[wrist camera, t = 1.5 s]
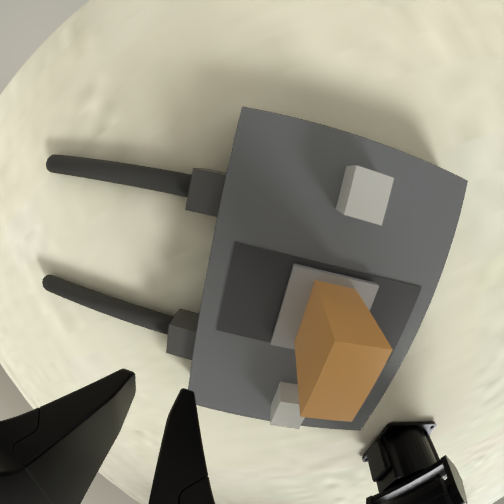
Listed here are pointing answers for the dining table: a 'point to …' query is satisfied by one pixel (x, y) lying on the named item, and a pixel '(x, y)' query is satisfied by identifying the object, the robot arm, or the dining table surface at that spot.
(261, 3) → the dining table surface
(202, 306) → the panel
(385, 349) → the breaker handle
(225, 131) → the dining table surface
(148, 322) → the twin dark prongs
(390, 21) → the dining table surface
